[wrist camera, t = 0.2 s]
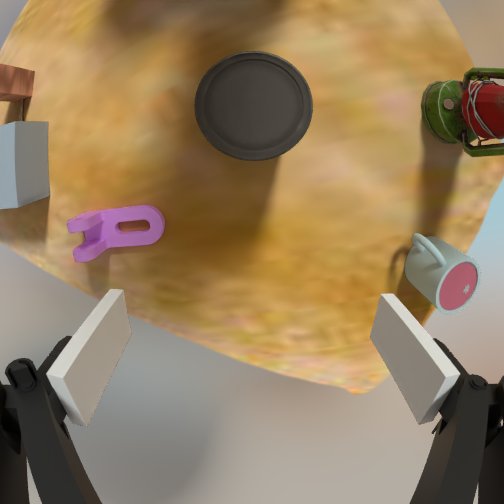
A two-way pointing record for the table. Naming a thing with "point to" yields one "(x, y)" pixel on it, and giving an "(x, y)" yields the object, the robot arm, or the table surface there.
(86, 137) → the table surface
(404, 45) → the table surface
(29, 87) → the reddish brown block
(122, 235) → the bracket
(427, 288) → the mug
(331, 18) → the table surface
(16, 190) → the box
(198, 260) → the table surface
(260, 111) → the coffee can
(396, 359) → the robot arm
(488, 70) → the lantern
